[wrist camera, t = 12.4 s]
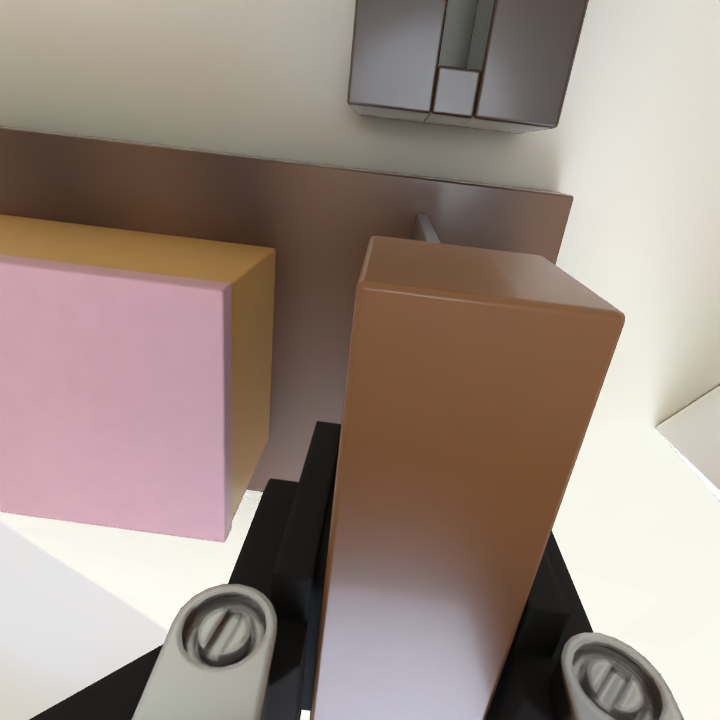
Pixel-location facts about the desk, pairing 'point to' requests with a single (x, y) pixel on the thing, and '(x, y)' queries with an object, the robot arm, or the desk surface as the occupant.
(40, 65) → the desk surface
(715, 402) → the milk
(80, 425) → the loaf cake
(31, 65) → the desk surface
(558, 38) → the cutter stand
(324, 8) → the desk surface
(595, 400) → the bar
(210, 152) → the cutting board
